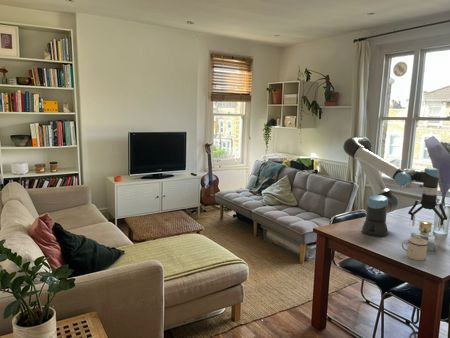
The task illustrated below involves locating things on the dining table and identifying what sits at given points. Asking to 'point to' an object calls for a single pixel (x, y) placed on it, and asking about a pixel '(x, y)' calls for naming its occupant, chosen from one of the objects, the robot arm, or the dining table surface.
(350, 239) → the dining table surface
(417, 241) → the teacup with lid
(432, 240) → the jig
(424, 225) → the gold cylinder
